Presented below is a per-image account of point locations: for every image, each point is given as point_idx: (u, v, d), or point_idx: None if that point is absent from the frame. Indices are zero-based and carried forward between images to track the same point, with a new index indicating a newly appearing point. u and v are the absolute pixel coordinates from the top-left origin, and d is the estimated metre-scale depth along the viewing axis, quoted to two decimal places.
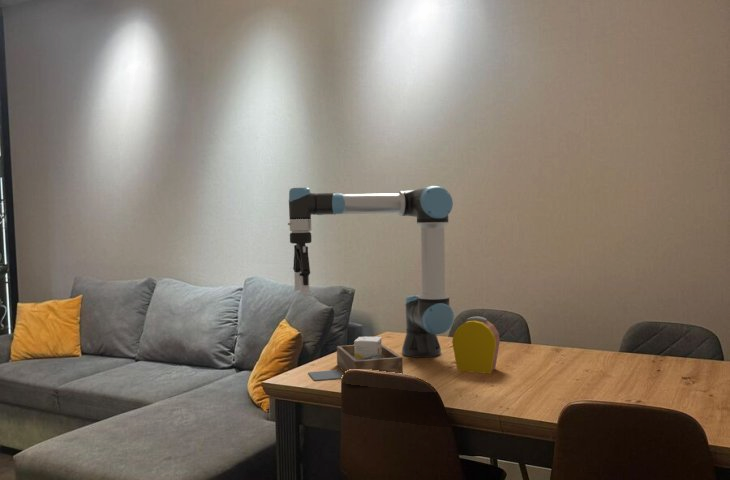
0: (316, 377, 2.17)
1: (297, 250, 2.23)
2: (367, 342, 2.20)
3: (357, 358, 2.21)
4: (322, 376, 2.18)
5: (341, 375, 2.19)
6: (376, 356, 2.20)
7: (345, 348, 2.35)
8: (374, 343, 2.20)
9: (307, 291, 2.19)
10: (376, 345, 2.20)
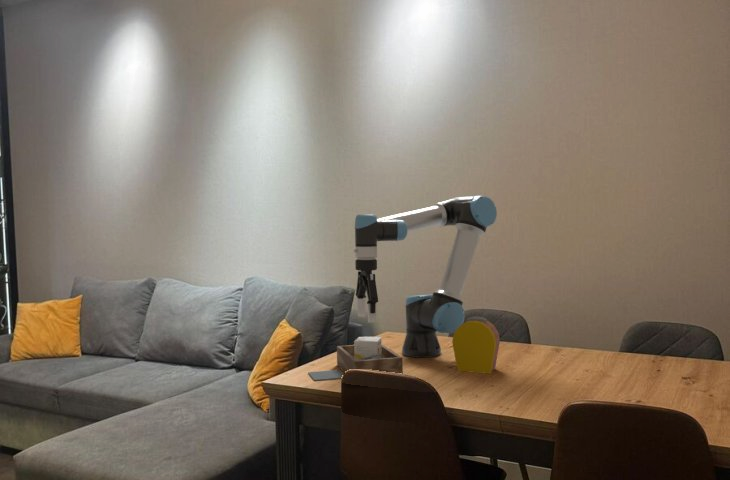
0: (316, 377, 2.17)
1: (363, 277, 2.21)
2: (367, 342, 2.20)
3: (357, 358, 2.21)
4: (322, 376, 2.18)
5: (341, 375, 2.19)
6: (376, 356, 2.20)
7: (345, 348, 2.35)
8: (374, 343, 2.20)
9: (374, 319, 2.17)
10: (376, 345, 2.20)
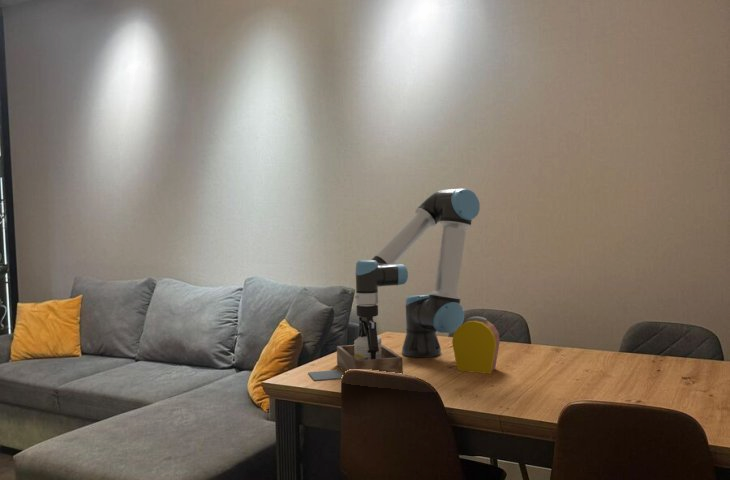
0: (316, 377, 2.17)
1: (364, 324, 2.22)
2: (367, 342, 2.20)
3: (357, 358, 2.21)
4: (322, 376, 2.18)
5: (341, 375, 2.19)
6: None
7: (345, 348, 2.35)
8: None
9: None
10: None
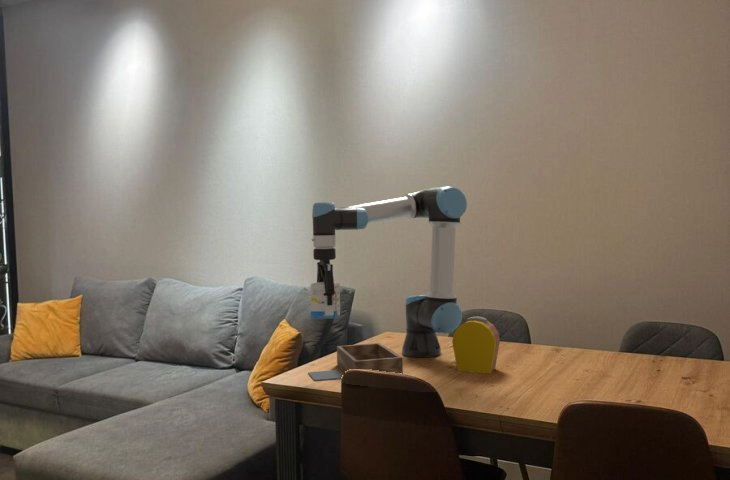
0: (316, 377, 2.17)
1: (321, 267, 2.16)
2: None
3: (314, 302, 2.16)
4: (322, 376, 2.18)
5: (341, 375, 2.19)
6: (333, 299, 2.14)
7: (345, 348, 2.35)
8: None
9: (331, 311, 2.14)
10: None
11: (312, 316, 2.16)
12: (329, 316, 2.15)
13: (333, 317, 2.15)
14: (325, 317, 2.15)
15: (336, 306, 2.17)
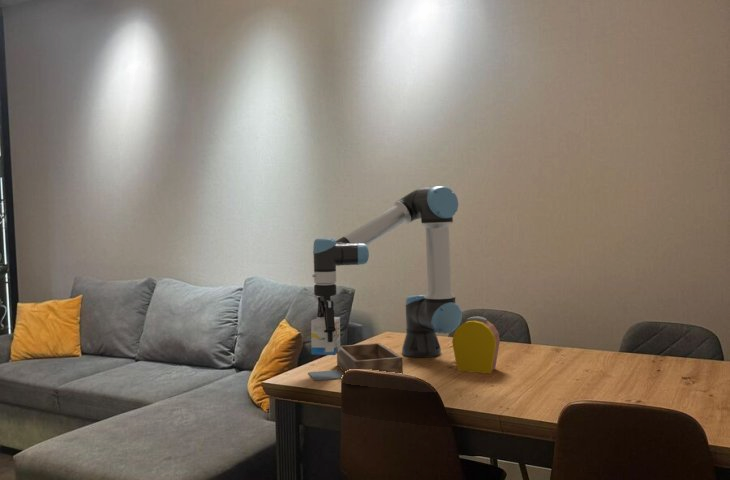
0: (316, 377, 2.17)
1: (322, 303, 2.17)
2: (324, 322, 2.15)
3: (314, 338, 2.16)
4: (322, 376, 2.18)
5: (341, 375, 2.19)
6: None
7: (345, 348, 2.35)
8: None
9: (332, 348, 2.14)
10: None
11: (312, 352, 2.16)
12: (329, 352, 2.15)
13: (333, 353, 2.15)
14: (325, 353, 2.15)
15: (337, 342, 2.18)
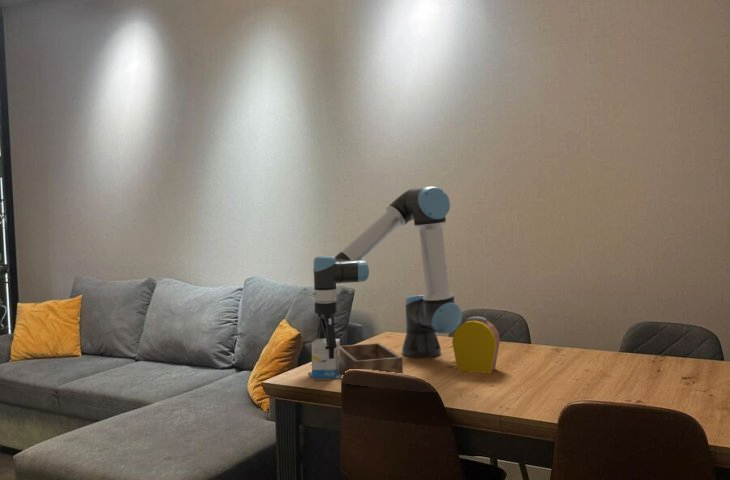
0: (316, 377, 2.17)
1: (322, 321, 2.17)
2: (325, 344, 2.16)
3: (315, 361, 2.17)
4: None
5: (341, 375, 2.19)
6: None
7: (345, 348, 2.35)
8: None
9: (333, 364, 2.13)
10: None
11: (313, 374, 2.17)
12: (330, 375, 2.16)
13: (334, 376, 2.16)
14: (326, 376, 2.16)
15: (337, 364, 2.19)
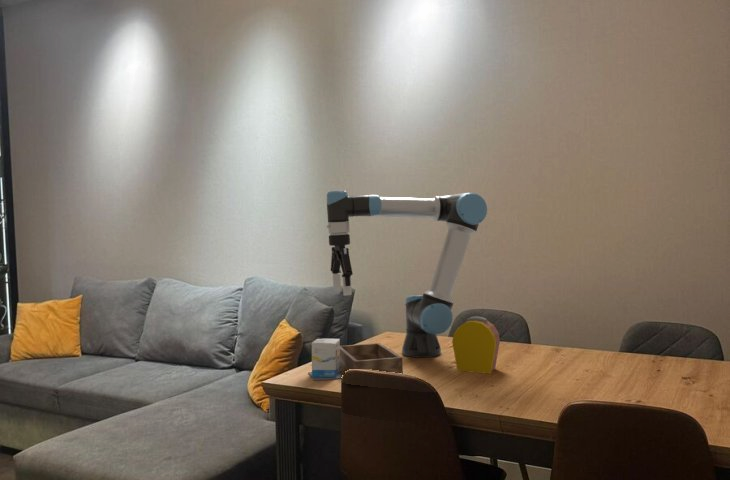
0: (316, 377, 2.17)
1: (337, 252, 2.28)
2: (325, 344, 2.16)
3: (315, 361, 2.17)
4: None
5: (341, 375, 2.19)
6: (334, 358, 2.16)
7: (345, 348, 2.35)
8: (332, 345, 2.16)
9: (349, 292, 2.24)
10: (334, 347, 2.16)
11: (313, 374, 2.17)
12: (330, 375, 2.16)
13: (334, 376, 2.16)
14: (326, 376, 2.16)
15: (337, 364, 2.19)
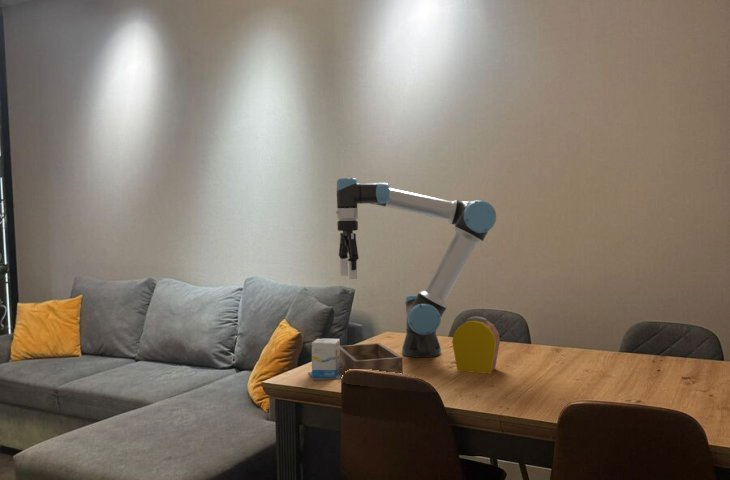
0: (316, 377, 2.17)
1: (345, 237, 2.36)
2: (325, 344, 2.16)
3: (315, 361, 2.17)
4: None
5: (341, 375, 2.19)
6: (334, 358, 2.16)
7: (345, 348, 2.35)
8: (332, 345, 2.16)
9: (355, 275, 2.32)
10: (334, 347, 2.16)
11: (313, 374, 2.17)
12: (330, 375, 2.16)
13: (334, 376, 2.16)
14: (326, 376, 2.16)
15: (337, 364, 2.19)
